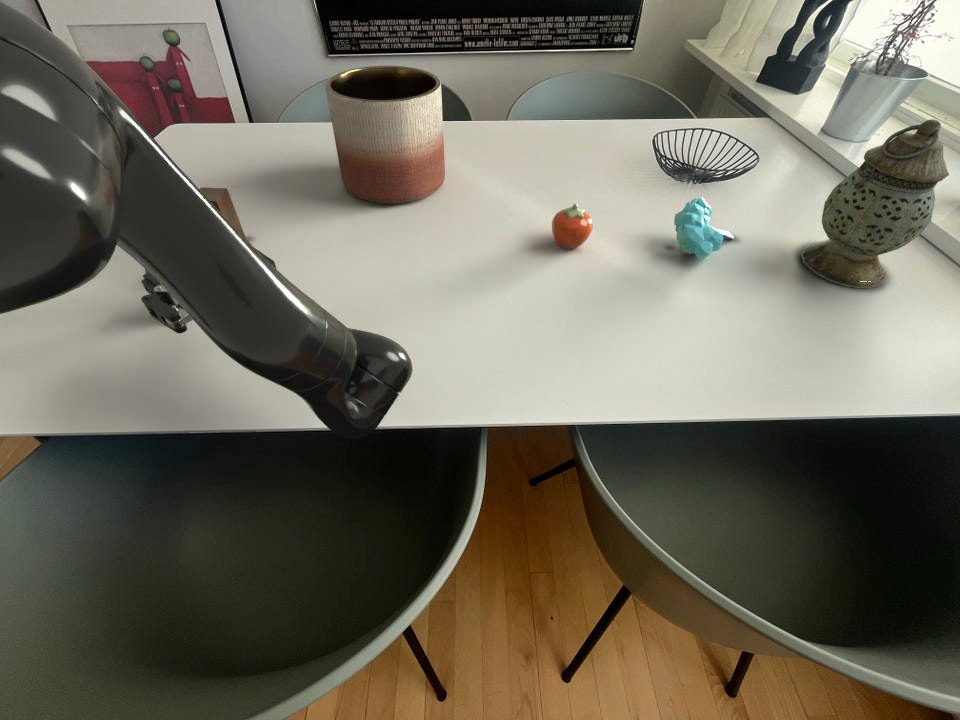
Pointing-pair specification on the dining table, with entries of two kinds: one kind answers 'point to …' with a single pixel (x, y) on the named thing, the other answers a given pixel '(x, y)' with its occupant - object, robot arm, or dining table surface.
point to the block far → (223, 205)
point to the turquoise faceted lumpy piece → (698, 229)
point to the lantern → (879, 207)
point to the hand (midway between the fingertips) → (181, 264)
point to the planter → (388, 132)
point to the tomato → (571, 227)
